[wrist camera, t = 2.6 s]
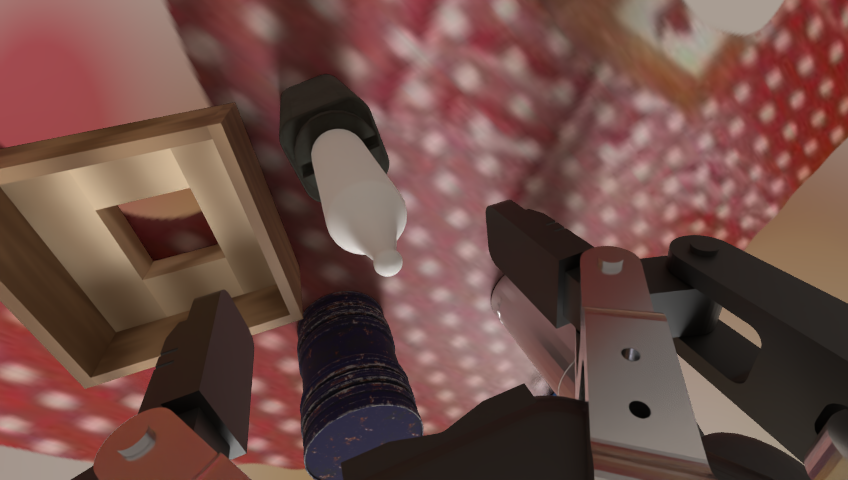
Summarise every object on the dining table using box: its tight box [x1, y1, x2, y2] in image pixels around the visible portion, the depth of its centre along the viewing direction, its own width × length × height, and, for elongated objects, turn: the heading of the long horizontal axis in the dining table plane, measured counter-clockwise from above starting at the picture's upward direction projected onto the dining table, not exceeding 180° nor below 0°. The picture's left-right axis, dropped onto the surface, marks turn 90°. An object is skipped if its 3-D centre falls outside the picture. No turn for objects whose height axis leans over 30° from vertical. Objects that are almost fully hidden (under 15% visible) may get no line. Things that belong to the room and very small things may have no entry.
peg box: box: [0, 102, 303, 389], centre depth 28 cm, size 16×16×8 cm
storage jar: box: [297, 291, 423, 480], centre depth 36 cm, size 10×10×15 cm
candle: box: [279, 74, 407, 277], centre depth 21 cm, size 5×5×25 cm
